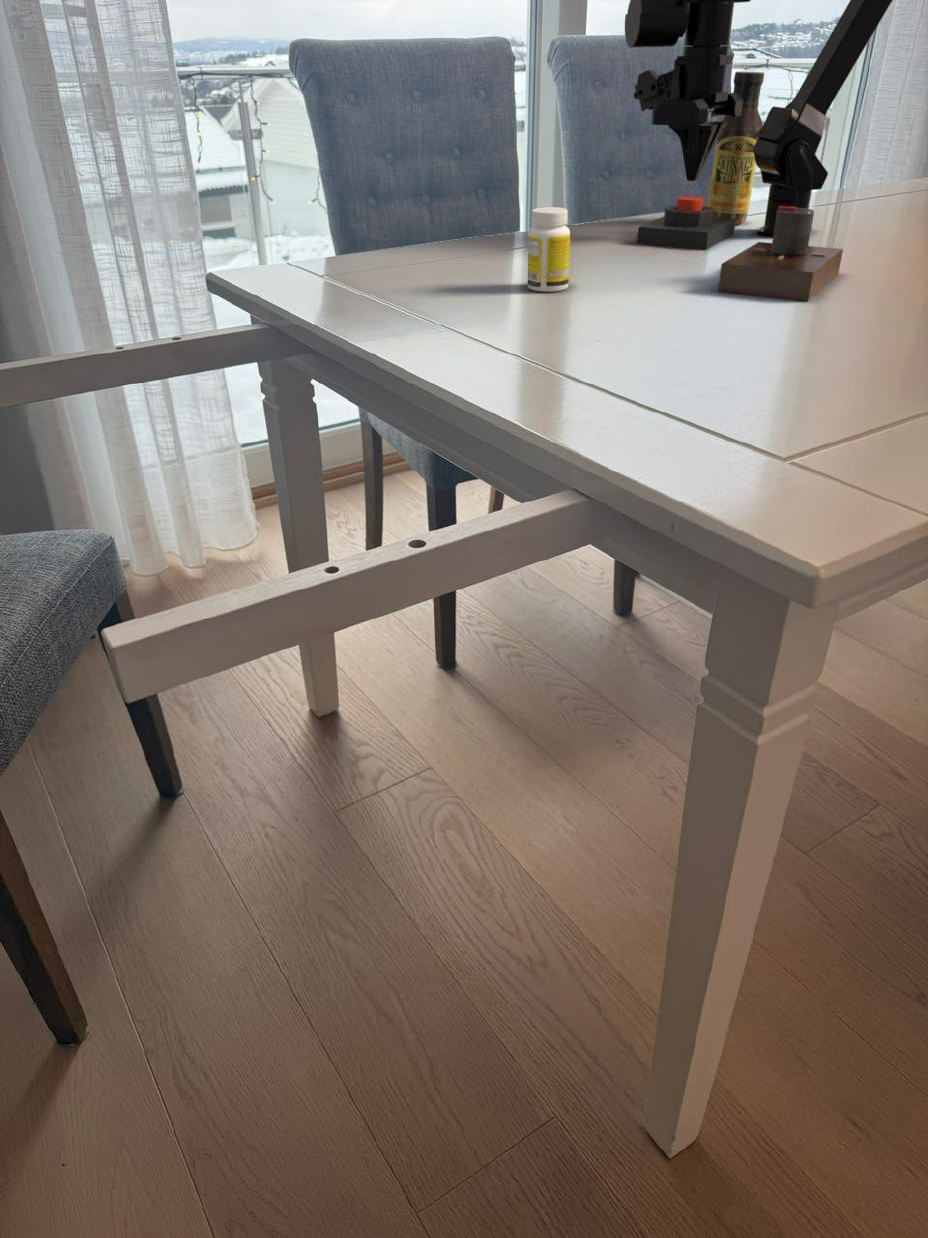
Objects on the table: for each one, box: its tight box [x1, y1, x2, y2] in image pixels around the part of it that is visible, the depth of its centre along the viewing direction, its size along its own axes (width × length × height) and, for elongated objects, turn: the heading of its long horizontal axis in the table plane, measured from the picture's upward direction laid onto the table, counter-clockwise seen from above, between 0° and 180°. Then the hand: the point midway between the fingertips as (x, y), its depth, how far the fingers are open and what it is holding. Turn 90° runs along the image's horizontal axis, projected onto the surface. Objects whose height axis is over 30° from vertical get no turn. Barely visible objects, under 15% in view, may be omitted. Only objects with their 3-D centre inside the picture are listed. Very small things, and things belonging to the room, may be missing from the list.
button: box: [675, 195, 705, 211], centre depth 125 cm, size 4×4×2 cm
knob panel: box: [717, 241, 844, 302], centre depth 104 cm, size 14×10×3 cm
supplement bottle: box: [527, 206, 571, 293], centre depth 103 cm, size 5×5×8 cm
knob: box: [771, 206, 815, 256], centre depth 103 cm, size 4×4×5 cm
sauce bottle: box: [706, 71, 765, 226], centre depth 133 cm, size 6×6×20 cm
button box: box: [636, 205, 736, 251], centre depth 127 cm, size 12×10×4 cm
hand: (691, 180), depth 124 cm, fingers closed
